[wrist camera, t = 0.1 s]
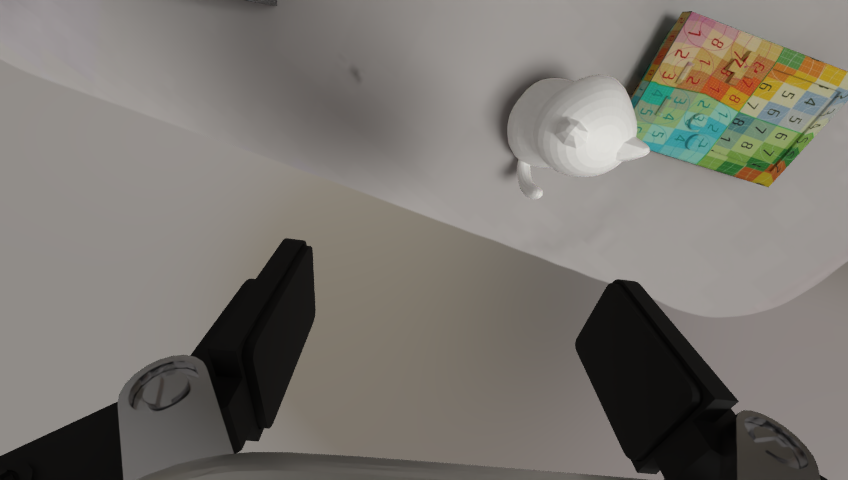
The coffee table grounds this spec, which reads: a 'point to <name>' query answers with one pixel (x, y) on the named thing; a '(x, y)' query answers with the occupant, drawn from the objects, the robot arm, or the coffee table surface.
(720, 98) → the puzzle game
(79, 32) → the coffee table surface
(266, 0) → the grey square socket block
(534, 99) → the cat figurine
